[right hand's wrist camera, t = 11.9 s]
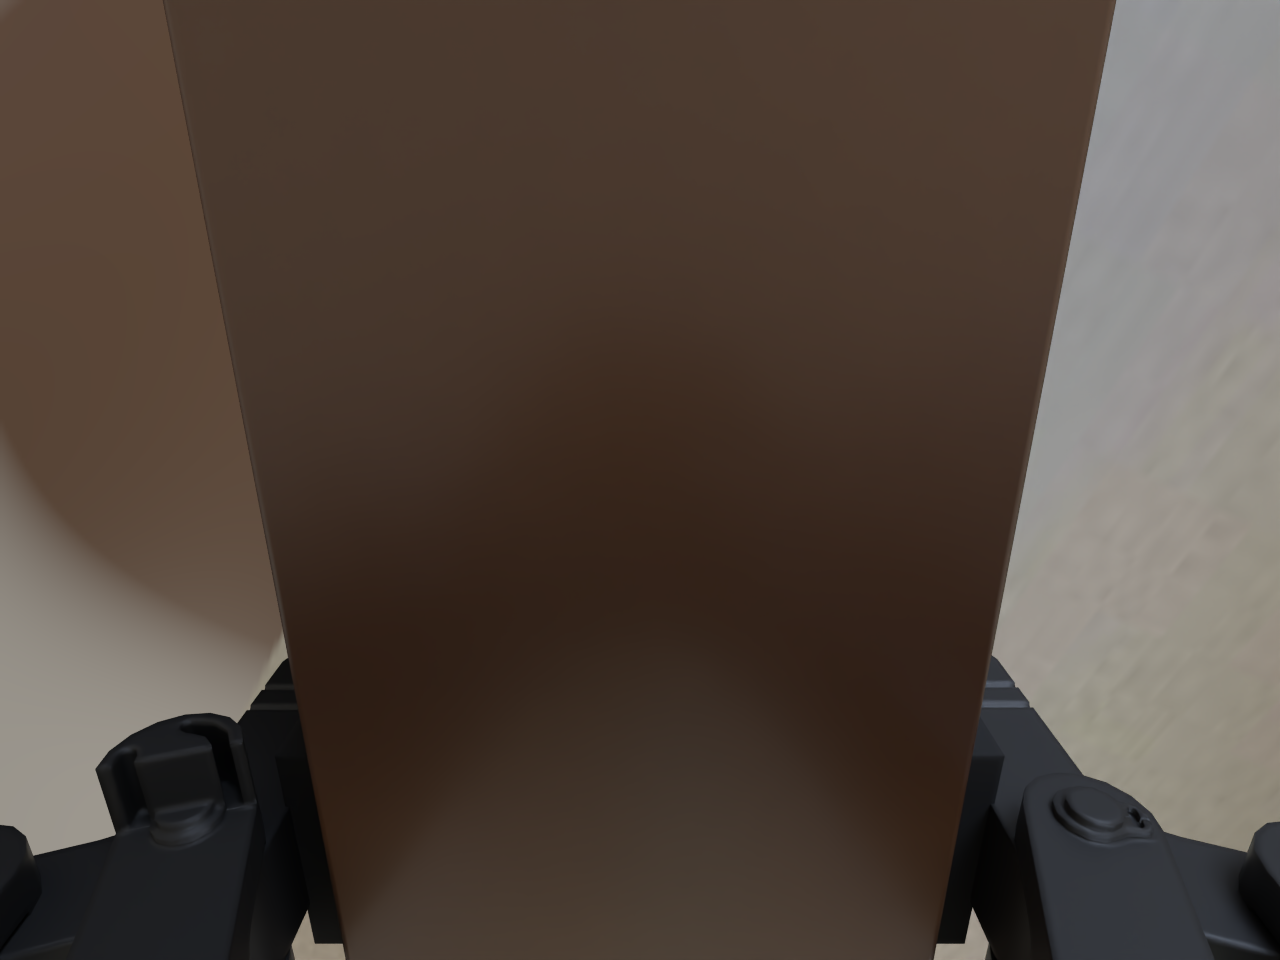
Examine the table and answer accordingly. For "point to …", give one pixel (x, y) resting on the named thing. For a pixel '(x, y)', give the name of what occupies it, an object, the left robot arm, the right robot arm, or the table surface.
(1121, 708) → the table surface
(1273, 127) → the table surface
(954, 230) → the beam
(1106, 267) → the table surface
